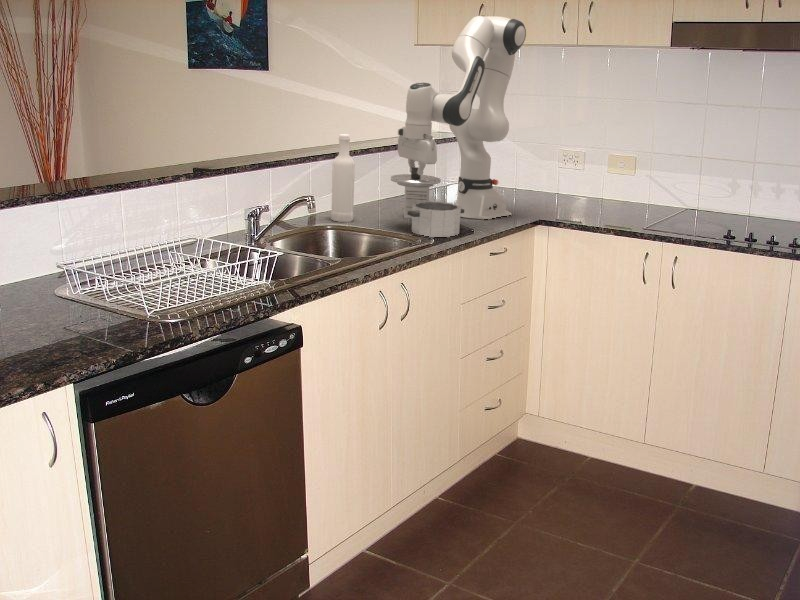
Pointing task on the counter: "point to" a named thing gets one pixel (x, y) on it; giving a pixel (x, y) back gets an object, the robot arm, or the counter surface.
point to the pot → (435, 219)
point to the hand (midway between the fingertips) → (416, 173)
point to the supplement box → (414, 198)
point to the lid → (415, 179)
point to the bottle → (343, 183)
